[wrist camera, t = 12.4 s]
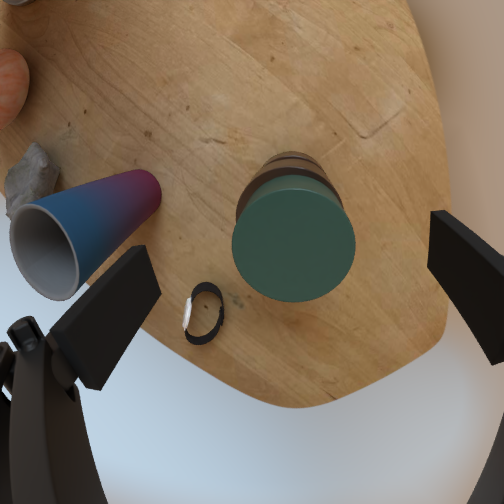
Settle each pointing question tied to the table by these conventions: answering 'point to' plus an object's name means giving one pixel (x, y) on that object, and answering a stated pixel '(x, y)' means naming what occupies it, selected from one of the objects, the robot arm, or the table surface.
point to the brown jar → (285, 166)
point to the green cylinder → (293, 240)
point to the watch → (187, 311)
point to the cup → (79, 230)
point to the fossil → (30, 179)
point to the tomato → (12, 85)
